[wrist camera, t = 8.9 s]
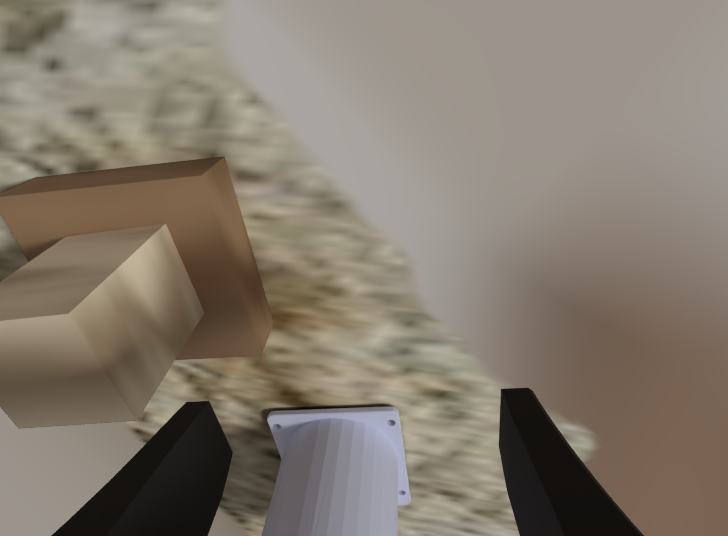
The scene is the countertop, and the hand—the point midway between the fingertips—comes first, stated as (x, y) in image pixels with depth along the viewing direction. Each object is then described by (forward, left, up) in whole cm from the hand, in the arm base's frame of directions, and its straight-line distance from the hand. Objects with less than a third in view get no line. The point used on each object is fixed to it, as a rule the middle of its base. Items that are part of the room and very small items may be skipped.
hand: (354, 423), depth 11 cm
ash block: (0, +10, -8) cm, 13 cm away
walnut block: (0, +11, -11) cm, 15 cm away
